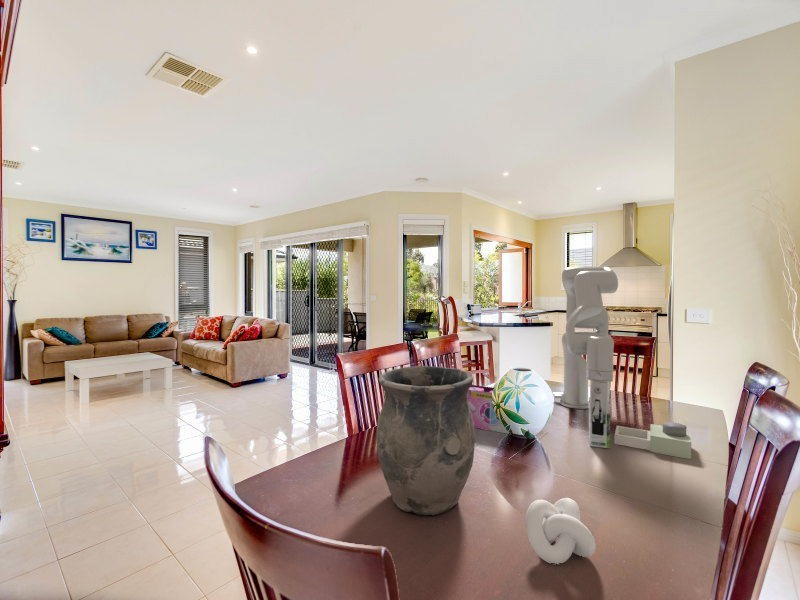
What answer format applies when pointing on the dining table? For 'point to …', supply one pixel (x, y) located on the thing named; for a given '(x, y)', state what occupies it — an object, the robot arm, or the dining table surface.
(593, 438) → the syrup box
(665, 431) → the knob block with frame
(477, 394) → the pink product box
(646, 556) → the dining table surface
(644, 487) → the dining table surface
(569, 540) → the white knot sculpture
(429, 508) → the clay pot
